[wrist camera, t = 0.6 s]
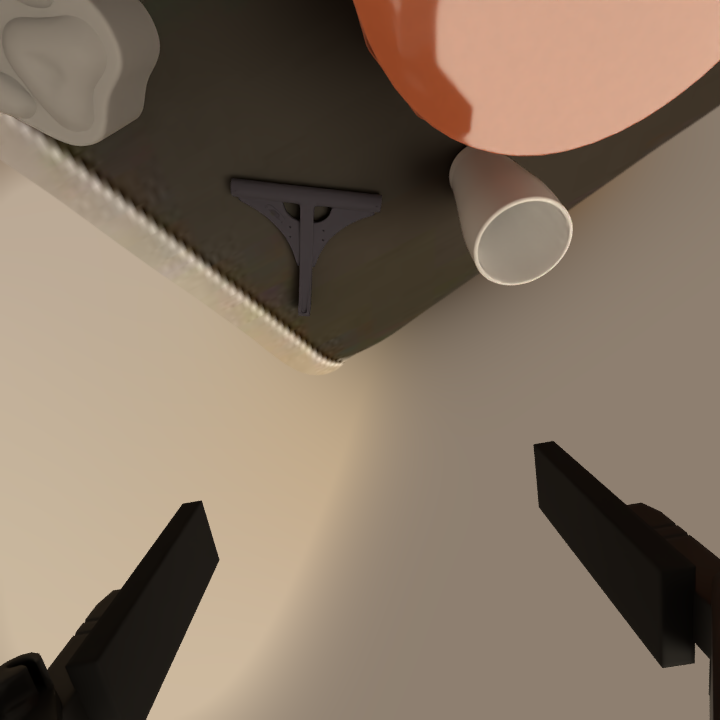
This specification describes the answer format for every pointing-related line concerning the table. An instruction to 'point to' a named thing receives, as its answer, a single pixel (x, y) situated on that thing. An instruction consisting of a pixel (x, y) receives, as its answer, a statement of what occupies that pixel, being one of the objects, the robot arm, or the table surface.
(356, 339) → the table surface
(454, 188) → the drinking glass
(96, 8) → the lumpy-topped squat cylinder
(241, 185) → the bracket
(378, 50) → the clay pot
